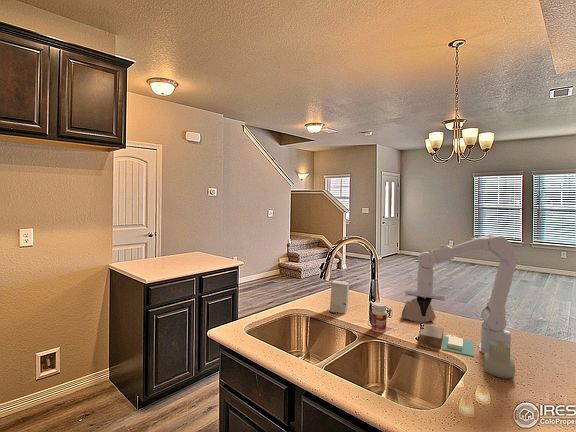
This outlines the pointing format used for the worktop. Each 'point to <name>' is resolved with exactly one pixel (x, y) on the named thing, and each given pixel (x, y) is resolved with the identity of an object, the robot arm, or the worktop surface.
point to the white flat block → (455, 343)
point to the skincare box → (339, 297)
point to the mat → (467, 349)
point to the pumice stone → (417, 312)
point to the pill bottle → (379, 317)
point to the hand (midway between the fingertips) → (423, 315)
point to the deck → (431, 336)
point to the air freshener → (499, 360)
